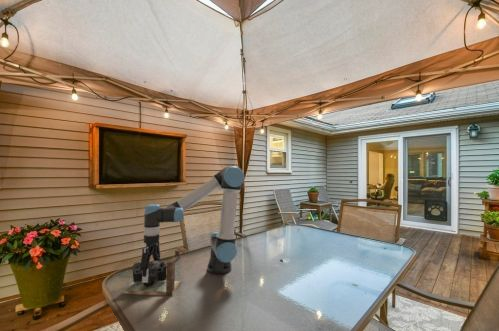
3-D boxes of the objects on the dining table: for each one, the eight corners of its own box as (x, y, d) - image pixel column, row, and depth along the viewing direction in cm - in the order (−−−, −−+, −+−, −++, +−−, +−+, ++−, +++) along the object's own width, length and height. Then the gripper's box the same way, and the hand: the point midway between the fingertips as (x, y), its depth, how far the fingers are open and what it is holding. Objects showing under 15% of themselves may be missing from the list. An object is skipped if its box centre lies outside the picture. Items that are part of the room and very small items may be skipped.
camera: (127, 291, 113) (126, 273, 111) (133, 279, 122) (132, 261, 120) (165, 288, 116) (165, 270, 114) (168, 276, 125) (168, 259, 123)
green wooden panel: (181, 283, 123) (182, 249, 124) (172, 295, 111) (173, 257, 112) (136, 282, 125) (137, 248, 125) (123, 293, 113) (124, 255, 113)
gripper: (154, 228, 131) (153, 268, 130) (132, 240, 108) (130, 288, 107) (167, 229, 130) (166, 268, 129) (148, 240, 108) (146, 288, 107)
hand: (150, 277), depth 118 cm, fingers closed on camera, 10 cm apart
